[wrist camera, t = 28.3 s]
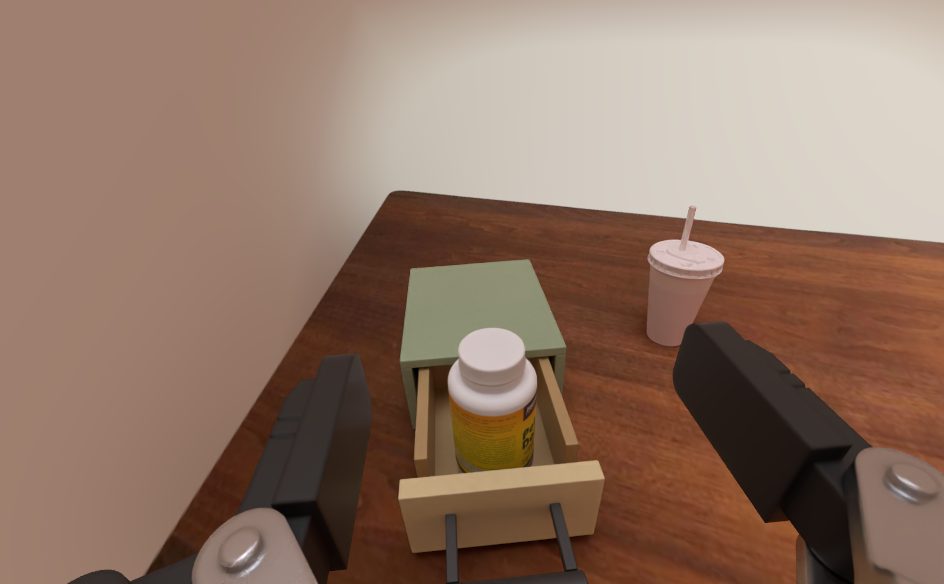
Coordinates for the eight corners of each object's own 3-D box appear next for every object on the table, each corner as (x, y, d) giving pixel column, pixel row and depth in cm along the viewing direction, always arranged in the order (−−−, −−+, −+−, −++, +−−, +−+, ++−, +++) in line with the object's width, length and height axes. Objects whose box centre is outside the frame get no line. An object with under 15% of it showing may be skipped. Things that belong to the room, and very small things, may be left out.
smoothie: (670, 313, 46) (701, 193, 39) (713, 347, 41) (758, 216, 33) (621, 324, 45) (642, 202, 37) (658, 361, 40) (692, 228, 32)
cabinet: (560, 416, 34) (566, 346, 30) (412, 429, 34) (399, 361, 30) (527, 317, 47) (529, 259, 43) (419, 326, 46) (410, 268, 42)
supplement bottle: (533, 498, 26) (539, 384, 21) (449, 489, 27) (434, 378, 22) (533, 428, 31) (538, 320, 26) (462, 423, 32) (452, 317, 26)
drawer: (625, 632, 21) (644, 580, 18) (406, 657, 21) (388, 608, 18) (544, 381, 37) (548, 330, 34) (419, 392, 36) (411, 342, 33)
